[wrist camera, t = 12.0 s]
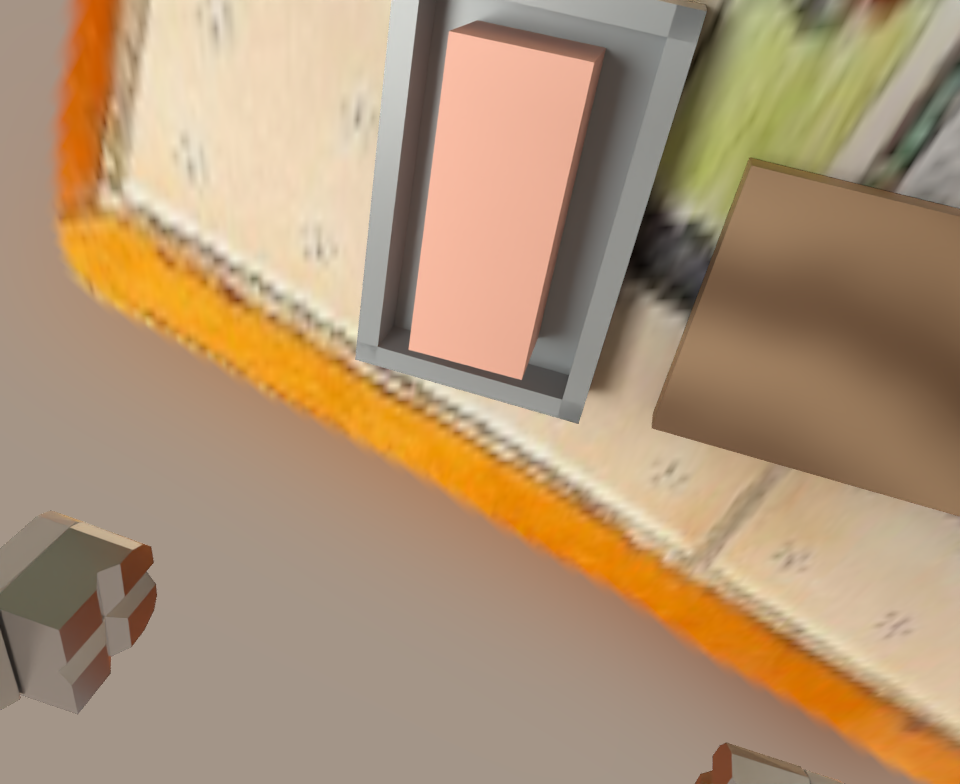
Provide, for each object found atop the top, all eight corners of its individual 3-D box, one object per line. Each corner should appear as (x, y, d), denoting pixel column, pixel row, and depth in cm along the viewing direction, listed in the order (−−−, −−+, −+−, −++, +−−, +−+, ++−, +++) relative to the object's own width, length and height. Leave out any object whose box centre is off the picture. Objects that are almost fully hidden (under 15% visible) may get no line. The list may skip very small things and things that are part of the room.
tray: (423, -59, 23) (397, -59, 21) (705, 4, 22) (707, 11, 20) (377, 331, 30) (355, 359, 28) (586, 390, 29) (578, 423, 27)
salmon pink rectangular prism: (435, 310, 28) (408, 349, 26) (477, 20, 23) (448, 30, 20) (538, 337, 28) (521, 380, 25) (605, 47, 22) (594, 62, 20)
